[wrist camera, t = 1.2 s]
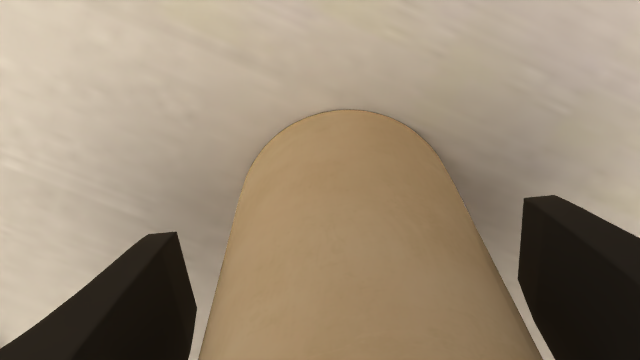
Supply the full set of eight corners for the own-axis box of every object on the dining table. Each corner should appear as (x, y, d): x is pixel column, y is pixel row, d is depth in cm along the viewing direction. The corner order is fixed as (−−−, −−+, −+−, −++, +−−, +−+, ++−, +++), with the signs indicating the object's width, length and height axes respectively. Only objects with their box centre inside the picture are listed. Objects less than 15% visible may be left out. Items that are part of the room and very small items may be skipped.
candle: (198, 203, 14) (5, 699, 5) (352, 59, 13) (447, 432, 4) (340, 318, 16) (374, 831, 7) (491, 206, 14) (782, 695, 5)
